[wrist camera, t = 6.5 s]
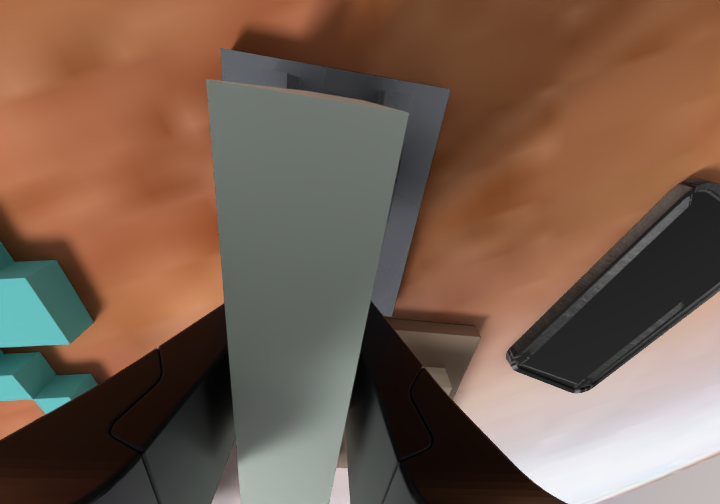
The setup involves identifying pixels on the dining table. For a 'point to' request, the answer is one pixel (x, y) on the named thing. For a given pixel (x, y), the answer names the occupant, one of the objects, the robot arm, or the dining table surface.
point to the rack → (433, 353)
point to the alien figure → (38, 331)
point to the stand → (415, 154)
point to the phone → (629, 293)
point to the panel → (297, 270)
